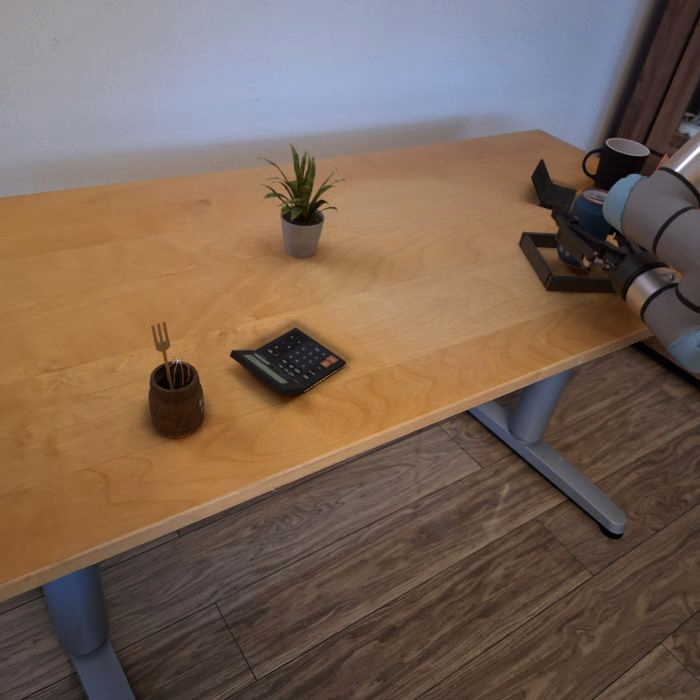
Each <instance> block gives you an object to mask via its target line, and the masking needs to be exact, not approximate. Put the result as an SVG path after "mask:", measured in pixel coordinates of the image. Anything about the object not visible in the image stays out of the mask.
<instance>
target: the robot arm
mask: <svg viewBox="0 0 700 700" xmlns="http://www.w3.org/2000/svg"><path fill="white" fill-rule="evenodd" d="M570 212H571V211H570V210H569V211H568V210H567V209H566V208H565V207H564V206H563V205H562V204H561V203H560V202H555V205H554V208H553V210H552V211H551V214H550V218H551V219H552V220H553V221H554V224H555V226H556V227H557V228H558V229H557V231H556V233H557V234H556V237H555V240H556V241H557V242H558V243H559V244H560V245H561V246H562V247H564V248H565V249H566V250H567V251H568V252H569V253H570V254H571V255H572V256H573V257H574V258H575V259H576V260H577V261H578V262H579V263H580V265H581V267H582V269H581V270H582V271H584V272H587V273H588V272H589V273H590V272H591V270H592V268H596V269H600V270H601V271H602V272H603V273H605V274H606V275H608V277H611V281H612V286H613V288H614V290H615V291H616V292H615V293H617V294H618V295H619V297H620V298H621V299H622V300H623V301H624V302H625V303H626V305H627V306H628V308H629V309H630V310H631V311H632V312H633V313H634V314H635V315H636V316H637V317H638V319H639V320H640V321H641V322H642V323H643V324H644V325H645V326H646V327H647V329H648V330H649V331H650V332H651V333H652V334H653V336H654V337H655V338H656V339H657V341H658V342H660V344H661V345H662V346H663V348H664V349H665V350H666V352H667V353H668V354H669V355H670V356H671V357H672V358H674V360H675V361H676V362H677V363H679V364H680V365H681V367H683V368H684V369H685V370H686V371H688V372H690V373H694V374H700V129H699V130H698V131H697V132H696V133H695V134H694V135H693V136H692V137H691V138H690V139H688V140H687V141H686V142H685V143H684V144H683V145H682V146H681V147H680V148H679V149H678V150H677V151H676V152H675V153H674V154H673V155H672V156H671V157H669V160H667V161H666V162H665V163H664V164H663V165H662V166H661V167H660V168H659V169H658V170H656V169H655V170H654V171H653V173H652V174H651V175H649V177H648V176H645V175H641V174H631V175H628V176H627V177H626V178H622V179H620V180H619V181H618V182H617V183H616V184H615V185H614V186H613V187H612V188H611V189H610V191H609V192H608V194H607V196H606V198H605V200H604V204H603V215H604V218H605V220H606V221H607V222H608V223H610V224H611V225H612V227H611V229H610V232H609V234H608V236H614V237H613V238H612V241H616V244H617V245H615V244H613V243H612V242H611V241H609V240H606V241H604V242H603V241H601V240H600V239H598V238H597V237H595V236H593V235H592V234H590V233H589V232H587V231H586V230H584V229H582V228H581V227H579V226H578V225H576V224H577V220H576V219H575V218H574V217H573V216H572V215H571V214H570ZM606 249H607V250H606ZM674 270H675V271H676V272H677V273H676V272H675V271H674ZM678 273H679V274H680V275H681V276H679V275H678Z"/></svg>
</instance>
